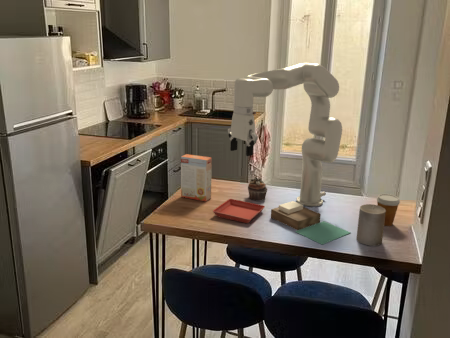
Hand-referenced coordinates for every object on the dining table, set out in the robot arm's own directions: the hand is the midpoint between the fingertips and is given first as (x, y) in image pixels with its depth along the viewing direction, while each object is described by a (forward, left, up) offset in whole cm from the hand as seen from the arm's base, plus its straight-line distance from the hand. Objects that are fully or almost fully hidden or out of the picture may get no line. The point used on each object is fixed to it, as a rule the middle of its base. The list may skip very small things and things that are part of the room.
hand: (241, 152), depth 175 cm
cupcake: (-28, -19, -31) cm, 46 cm away
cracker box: (-3, -36, -31) cm, 48 cm away
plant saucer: (-7, -8, -32) cm, 34 cm away
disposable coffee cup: (-53, +36, -31) cm, 71 cm away
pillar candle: (-32, +42, -31) cm, 61 cm away
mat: (-23, +27, -31) cm, 47 cm away
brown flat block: (-23, +11, -31) cm, 40 cm away
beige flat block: (-23, +8, -27) cm, 36 cm away
